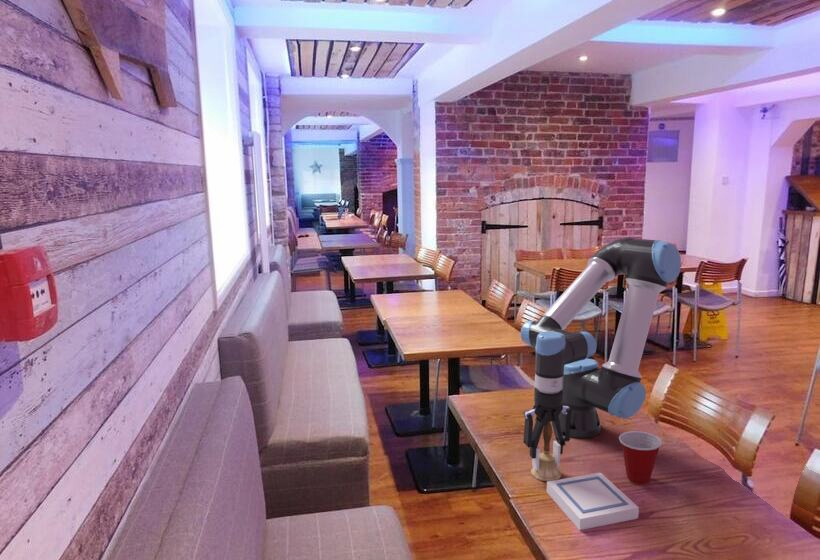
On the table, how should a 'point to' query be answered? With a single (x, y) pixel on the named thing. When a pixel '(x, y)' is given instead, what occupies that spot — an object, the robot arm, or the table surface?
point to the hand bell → (546, 459)
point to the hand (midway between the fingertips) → (545, 465)
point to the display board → (591, 501)
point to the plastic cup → (639, 455)
